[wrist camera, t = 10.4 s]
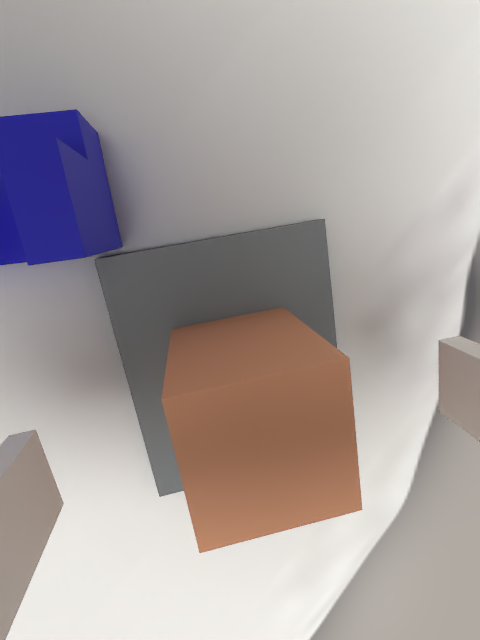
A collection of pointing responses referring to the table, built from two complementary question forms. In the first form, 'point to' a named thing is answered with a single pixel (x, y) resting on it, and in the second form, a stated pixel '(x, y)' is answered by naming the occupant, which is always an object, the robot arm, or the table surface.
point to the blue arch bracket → (53, 190)
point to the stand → (207, 307)
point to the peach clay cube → (260, 426)
